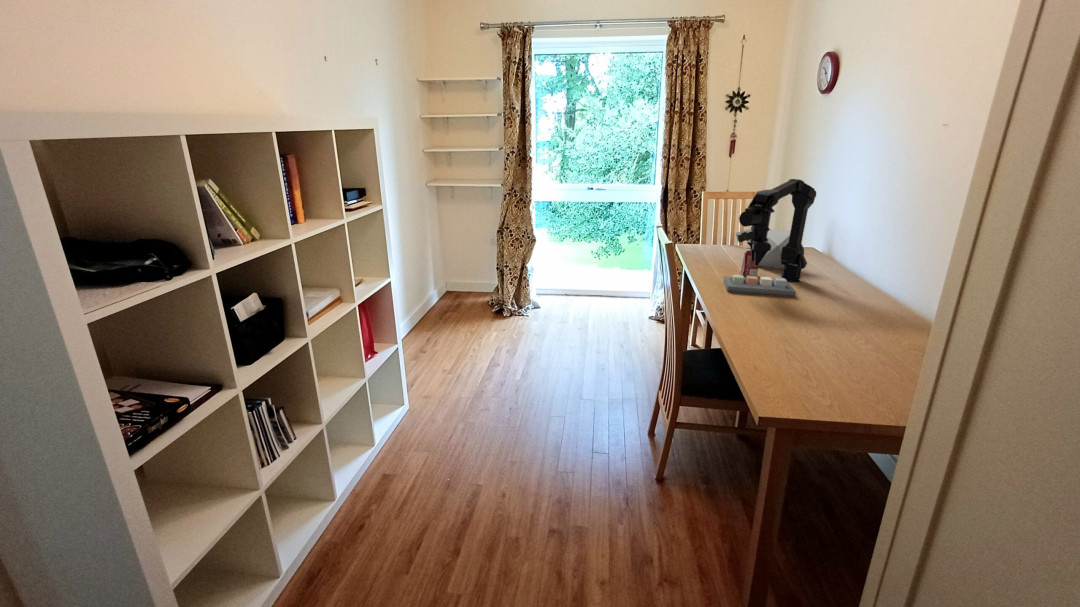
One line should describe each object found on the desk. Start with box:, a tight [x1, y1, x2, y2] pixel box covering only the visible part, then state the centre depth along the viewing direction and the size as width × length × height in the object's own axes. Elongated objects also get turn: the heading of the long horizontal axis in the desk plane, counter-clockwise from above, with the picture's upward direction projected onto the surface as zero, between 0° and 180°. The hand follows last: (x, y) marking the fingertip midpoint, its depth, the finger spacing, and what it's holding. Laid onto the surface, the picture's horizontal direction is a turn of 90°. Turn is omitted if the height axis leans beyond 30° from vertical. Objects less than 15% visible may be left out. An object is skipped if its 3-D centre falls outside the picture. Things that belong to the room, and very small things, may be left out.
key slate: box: [773, 277, 788, 287], centre depth 205 cm, size 4×4×3 cm
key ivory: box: [759, 276, 774, 286], centre depth 206 cm, size 4×4×3 cm
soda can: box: [740, 247, 759, 278], centre depth 225 cm, size 7×7×12 cm
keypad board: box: [722, 276, 797, 298], centre depth 207 cm, size 25×14×2 cm, turn 78°
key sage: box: [731, 274, 745, 284], centre depth 208 cm, size 4×4×3 cm
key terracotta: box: [745, 275, 759, 285], centre depth 207 cm, size 4×4×3 cm
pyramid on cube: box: [758, 228, 791, 269], centre depth 239 cm, size 17×24×18 cm
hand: (754, 262), depth 204 cm, fingers open, 7 cm apart
